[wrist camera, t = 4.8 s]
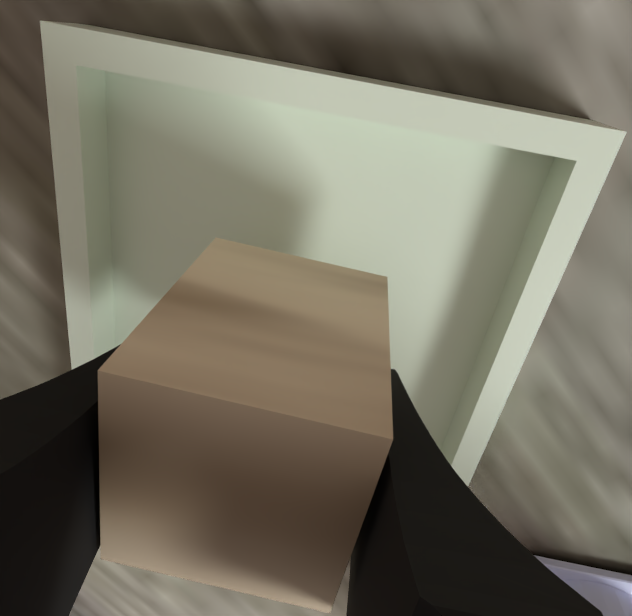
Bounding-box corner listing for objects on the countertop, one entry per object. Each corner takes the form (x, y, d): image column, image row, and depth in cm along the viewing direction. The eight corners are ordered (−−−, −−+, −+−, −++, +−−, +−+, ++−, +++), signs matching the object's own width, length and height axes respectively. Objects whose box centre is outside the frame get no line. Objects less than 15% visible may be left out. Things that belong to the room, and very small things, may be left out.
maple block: (347, 411, 15) (329, 613, 9) (200, 377, 15) (100, 558, 9) (387, 277, 13) (393, 439, 7) (215, 237, 13) (97, 370, 7)
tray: (443, 483, 19) (450, 526, 18) (105, 414, 20) (78, 450, 18) (592, 120, 13) (626, 132, 11) (84, 24, 13) (39, 20, 11)
